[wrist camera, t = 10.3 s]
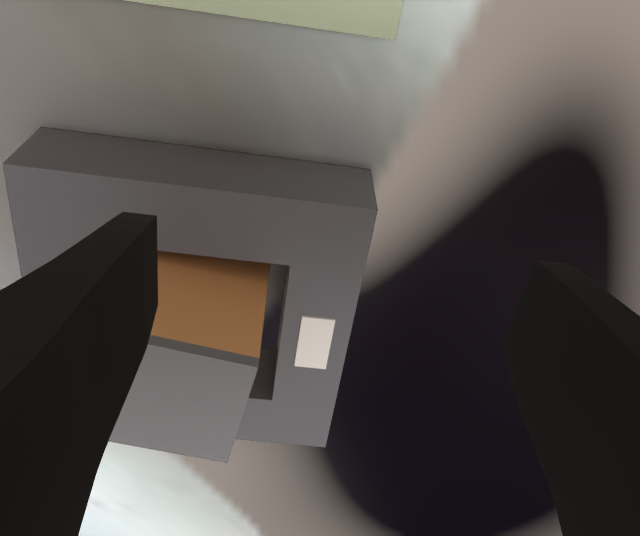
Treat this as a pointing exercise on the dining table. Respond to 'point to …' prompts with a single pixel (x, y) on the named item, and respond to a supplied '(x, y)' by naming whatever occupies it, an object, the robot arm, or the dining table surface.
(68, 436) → the robot arm
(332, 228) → the socket block
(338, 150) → the dining table surface
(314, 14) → the tray
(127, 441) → the plug
